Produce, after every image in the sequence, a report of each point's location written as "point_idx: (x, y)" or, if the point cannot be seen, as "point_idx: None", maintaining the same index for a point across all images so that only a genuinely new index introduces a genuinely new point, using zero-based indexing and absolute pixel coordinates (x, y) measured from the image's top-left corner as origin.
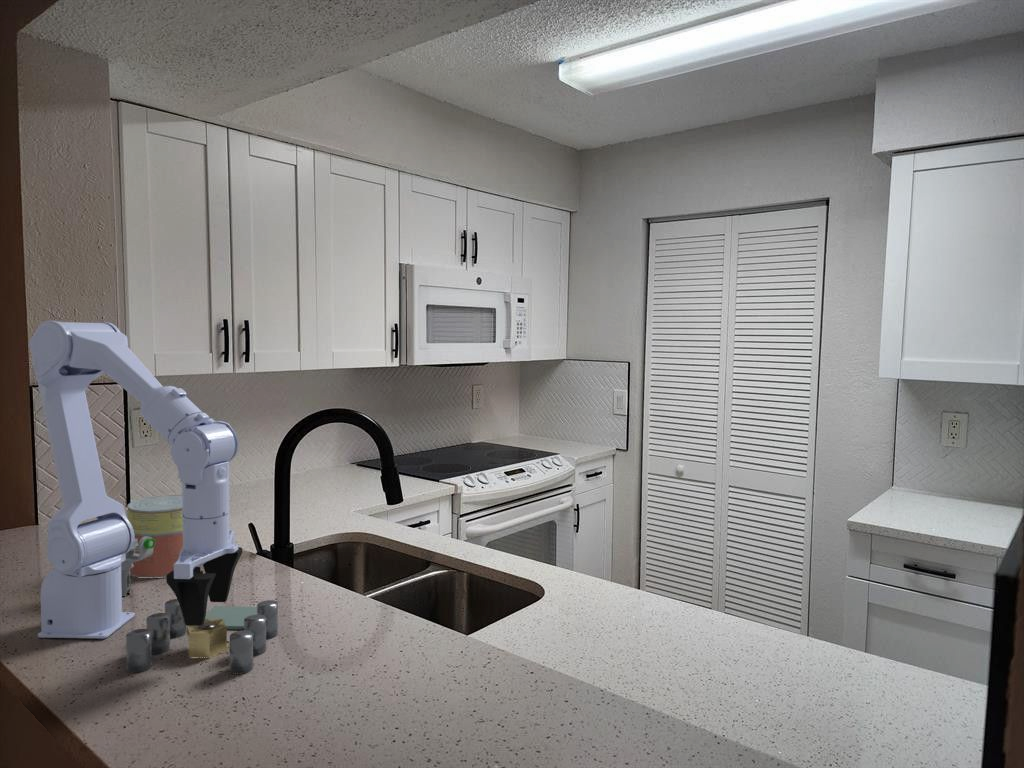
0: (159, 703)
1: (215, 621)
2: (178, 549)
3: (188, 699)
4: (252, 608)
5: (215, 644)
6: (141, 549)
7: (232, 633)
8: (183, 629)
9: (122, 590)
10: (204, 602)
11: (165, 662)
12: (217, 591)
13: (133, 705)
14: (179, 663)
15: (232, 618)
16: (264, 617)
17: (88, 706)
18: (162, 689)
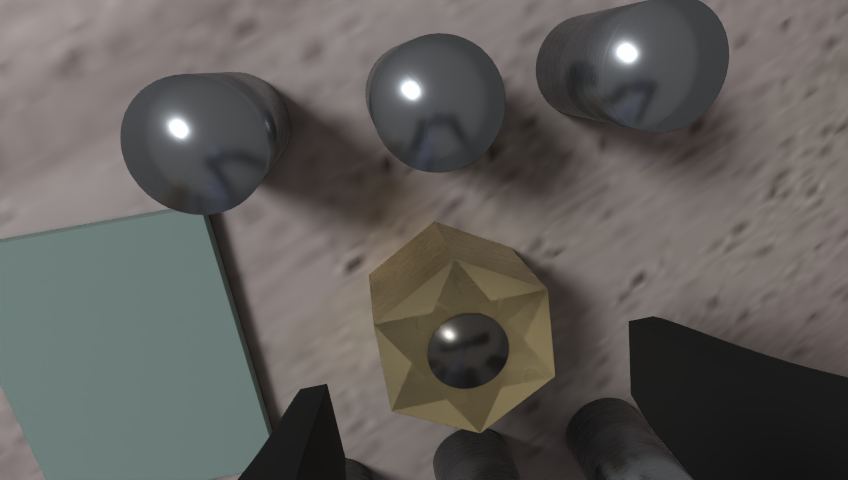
0: (821, 221)
1: (411, 343)
2: None
3: (802, 141)
4: (7, 343)
5: (499, 255)
6: None
7: (647, 131)
8: None
9: None
10: (782, 362)
11: (558, 378)
12: (333, 470)
13: (827, 290)
14: (559, 329)
15: (158, 365)
16: (411, 53)
17: None
18: (736, 269)
